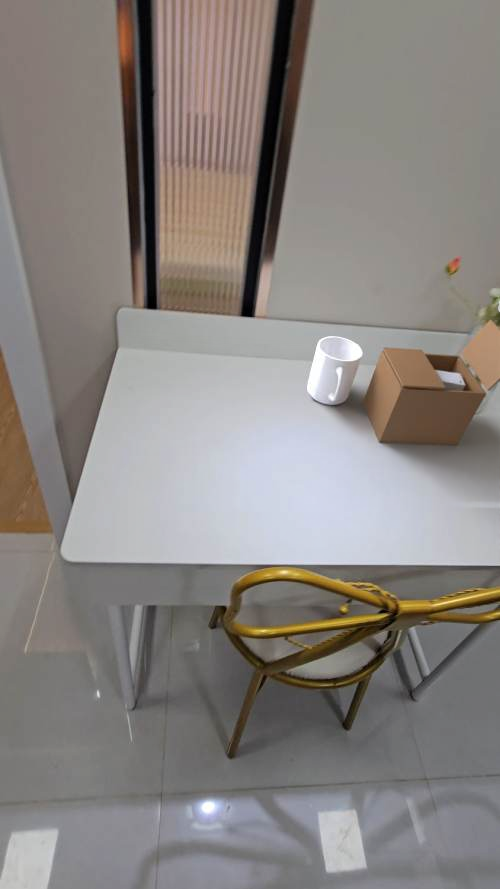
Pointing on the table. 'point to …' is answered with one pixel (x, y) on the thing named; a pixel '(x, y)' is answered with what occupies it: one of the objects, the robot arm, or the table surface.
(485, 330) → the flap
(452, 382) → the cosmetic box
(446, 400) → the carton
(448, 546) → the table surface
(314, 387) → the mug
